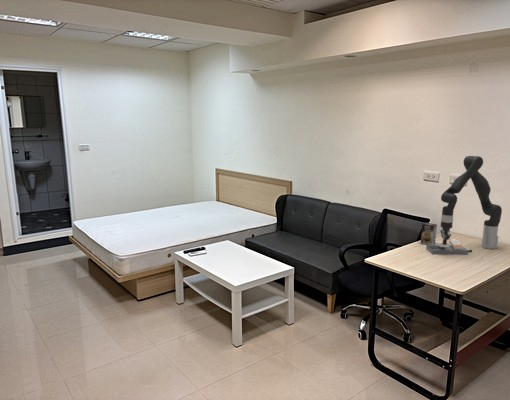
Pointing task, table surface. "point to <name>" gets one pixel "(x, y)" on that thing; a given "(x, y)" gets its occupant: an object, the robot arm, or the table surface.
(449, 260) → the table surface
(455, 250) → the rocker switch panel
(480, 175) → the robot arm
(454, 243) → the rocker
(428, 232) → the coffee box
